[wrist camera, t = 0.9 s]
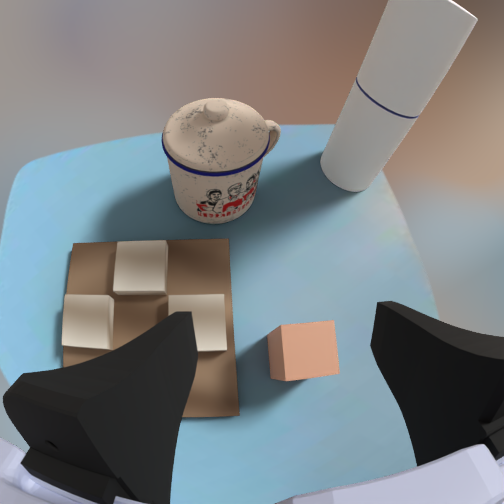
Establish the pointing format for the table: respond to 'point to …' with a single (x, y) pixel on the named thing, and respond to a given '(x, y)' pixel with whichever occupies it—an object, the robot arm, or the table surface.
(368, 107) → the cylindrical container
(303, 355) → the terracotta block
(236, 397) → the walnut board
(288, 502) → the robot arm
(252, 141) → the teacup with lid
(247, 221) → the table surface
